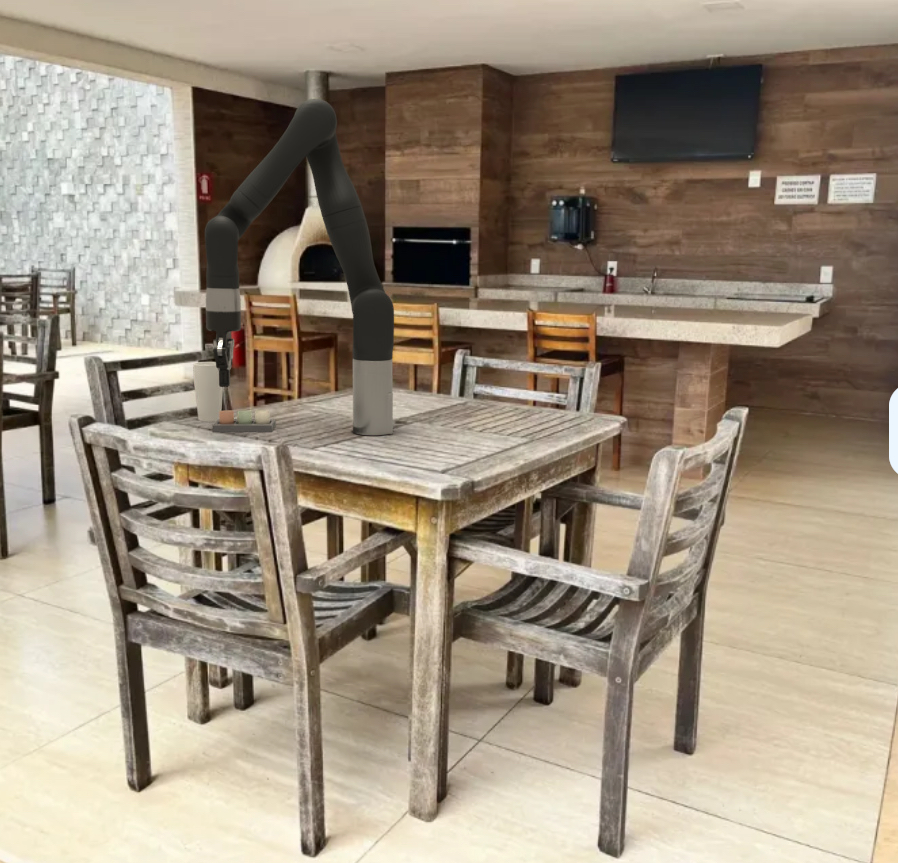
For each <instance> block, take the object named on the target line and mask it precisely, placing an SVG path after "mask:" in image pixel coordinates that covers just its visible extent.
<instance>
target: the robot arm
mask: <svg viewBox="0 0 898 863" xmlns="http://www.w3.org/2000/svg"><path fill="white" fill-rule="evenodd" d="M337 126H338V120H337V114H336V112H335V109H334V108H333V106H332V105H331V104H330V103H328V102H327V101H326V100H324V99H320V98H309V99H307V100H305V101H303V102H302V103H300V104H299V106H298V107H297V108H296V109H295V112H294V115H293V117H292V119H291V121H290V122H289V124H288V127H287V128H286V129H285V131H284V133H283V134H282V135H281V137H280V138H279V140H278V141H277V142H276V144H275V145H274V146H273V147H272V149H271V150H270V151H269V152H268V153H267V155H266V156H265V157H264V158H263V159H261V161H260V163H258V165H257V166H256V167H255V168H254V169H253V170H252V171H251V172H250V174H249V175H247V177H246V178H245V179H244V180H243V181H242V183H241V184H240V185H239V186H238V188H236V190H235V191H234V192H233V194H232V195H231V197H230V199H229V201H228V202H227V203H226V205H225V206H224V207H223V208H222V209H221V210H220V211H219V212H218V214H216V215H215V216H214V217H212V218H211V219H209V221H208V222H206V225H205V229H204V242H205V255H206V256H205V257H206V275H205V277H206V280H205V281H206V292H205V323H206V324H205V327H206V330H208V331H210V332H216V333H215V334H216V335H215V339H213V355H214V360H215V361H214V362H216V367H217V368H218V370H219V386H220V387H223V388H228V387H230V386H231V368H232V365H233V359H234V348H235V339H234V338H232V332H239V331H241V330H242V311H241V310H242V309H241V308H242V307H241V306H242V304H241V301H242V299H241V292H240V270H239V264H238V259H239V258H238V254H239V252H238V251H239V240H240V239H241V238H242V237H243V235H244V234H245V232H246V231H248V230H247V229H248V228H250V226H251V224H252V223H253V222H254V220H256V219H257V218H258V217H259V216H260V215H261V214H262V213H263V212H264V210H265V209H266V208H267V207H268V206H269V204H270V203H271V202H272V201H273V200H274V198H275V197H276V196H277V194H278V193H279V192H280V190H281V189H282V188H283V186H284V185H285V184H286V182H287V180H288V179H289V178H290V176H291V174H293V172H294V171H295V169H296V168H297V167H298V166H299V165H300V163H302V162H303V160H304V159H305V158H306V160H307V163H308V165H309V168H310V170H311V174H312V178H313V183H314V188H315V193H316V197H317V202H318V207H319V209H320V214H321V217H322V221H323V224H324V227H325V229H326V233H327V236H328V238H329V242H330V243H331V246H332V249H333V251H334V253H335V255H336V259H337V260H338V262H339V265H340V267H341V269H342V272H343V275H344V278H345V282H346V286H347V291H348V295H349V301H350V305H351V314H352V432H353V433H354V434H357V435H363V436H381V435H382V436H383V435H393V432H394V431H393V430H394V429H393V428H394V427H393V426H394V424H393V423H394V422H393V421H394V418H393V414H394V413H393V410H394V407H393V406H394V405H393V404H394V400H393V398H394V396H393V395H394V394H393V356H394V353H393V352H394V346H395V345H394V344H395V342H394V341H395V340H394V338H395V336H394V335H395V309H394V303H393V301H392V299H391V297H390V296H389V295H388V294H387V293H386V291H385V289H384V286H383V285H382V282H381V280H380V277H379V274H378V272H377V268H376V266H375V260H374V257H373V249H372V241H371V236H370V230H369V227H368V223H367V222H368V221H367V219H366V216H365V212H364V209H363V206H362V203H361V202H362V201H361V200H360V197H359V194H358V193H357V190H356V188H355V185H354V183H353V181H352V179H351V178H350V176H349V174H348V172H347V169H346V168H345V166H344V162H343V159H342V156H341V151H340V146H339V144H338V143H339V142H338V137H337V133H336V130H337Z"/></svg>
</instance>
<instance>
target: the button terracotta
mask: <svg viewBox="0 0 898 863" xmlns="http://www.w3.org/2000/svg"><path fill="white" fill-rule="evenodd" d="M234 419H235V411H234V410H231V409H230V410H228V409H227V410H226V409H225V410H221V411H219V422H220V424H234Z"/></svg>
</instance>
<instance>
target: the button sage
mask: <svg viewBox="0 0 898 863" xmlns="http://www.w3.org/2000/svg"><path fill="white" fill-rule="evenodd" d="M236 414H237V415H236V416H237V423H238V424H252V419H253V416H252V415H253V414H252V410H250V409H249V410H247V409H246V410H245V409H244V410H237V413H236Z"/></svg>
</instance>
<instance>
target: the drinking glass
mask: <svg viewBox="0 0 898 863" xmlns="http://www.w3.org/2000/svg"><path fill="white" fill-rule="evenodd" d="M192 374H193V384H194V385H193V386H194V392H195V401H196V409H197V410H196V411H197V418H198V421H200V422H216V421H217V420H218V419H219V411H223V410H222V408H223V406H222V405H223V389H224V387H220V386H219V370H218V368H217V367H216V361H198V362H194V363H193V373H192Z"/></svg>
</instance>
